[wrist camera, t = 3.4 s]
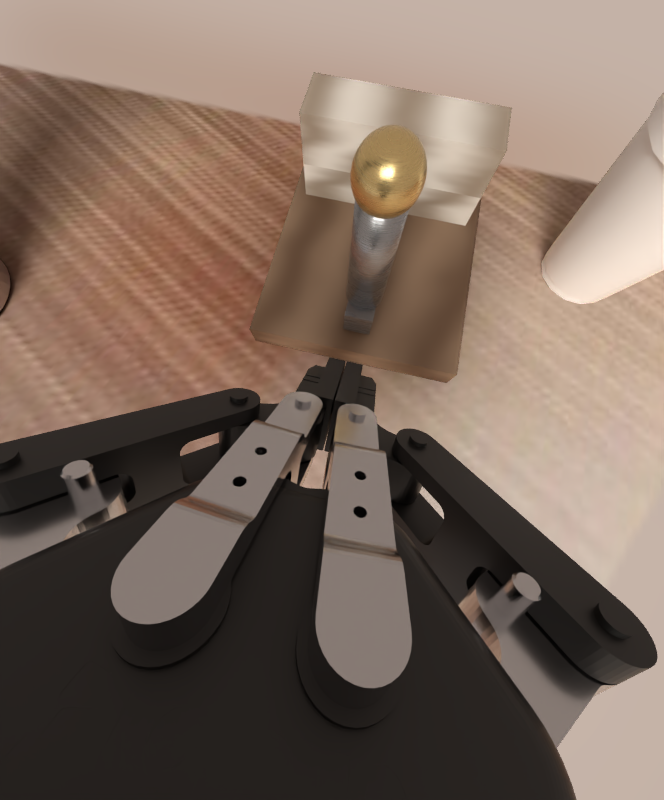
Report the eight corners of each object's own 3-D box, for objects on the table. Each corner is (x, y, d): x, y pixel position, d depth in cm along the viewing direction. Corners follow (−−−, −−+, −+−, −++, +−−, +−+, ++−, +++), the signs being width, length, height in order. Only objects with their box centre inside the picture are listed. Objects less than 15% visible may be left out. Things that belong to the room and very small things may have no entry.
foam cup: (514, 300, 26) (693, 133, 13) (532, 218, 28) (701, 7, 15) (624, 333, 25) (924, 191, 12) (634, 246, 27) (899, 51, 15)
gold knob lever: (335, 327, 22) (342, 166, 11) (359, 231, 25) (388, 9, 13) (376, 336, 22) (430, 182, 10) (397, 239, 24) (461, 21, 13)
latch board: (255, 340, 25) (221, 278, 17) (309, 175, 29) (301, 65, 21) (446, 382, 24) (503, 339, 16) (472, 206, 28) (526, 105, 20)
